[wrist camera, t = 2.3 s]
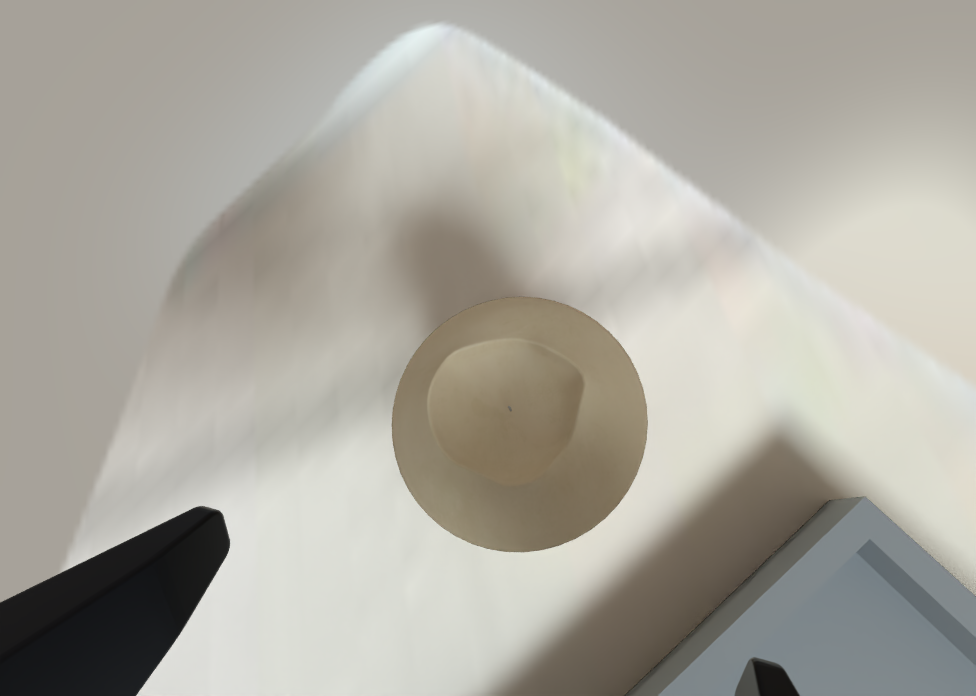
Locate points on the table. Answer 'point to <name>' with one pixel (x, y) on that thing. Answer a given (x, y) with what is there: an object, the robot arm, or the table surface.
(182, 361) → the table surface
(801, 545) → the tray
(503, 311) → the candle
